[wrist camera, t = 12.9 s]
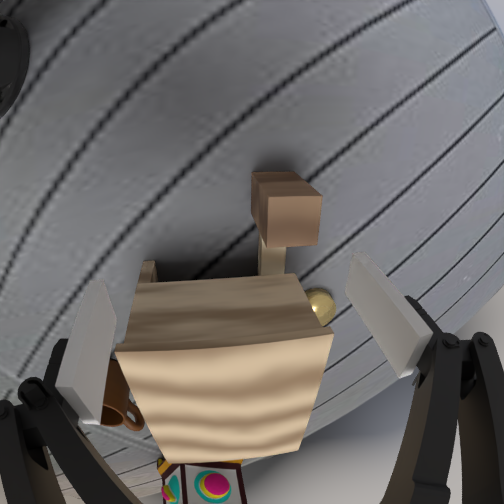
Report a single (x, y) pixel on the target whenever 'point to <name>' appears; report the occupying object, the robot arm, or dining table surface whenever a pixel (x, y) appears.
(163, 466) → the decorative lantern
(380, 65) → the dining table surface
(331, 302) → the puck
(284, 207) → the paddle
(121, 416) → the mug
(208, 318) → the cabinet
